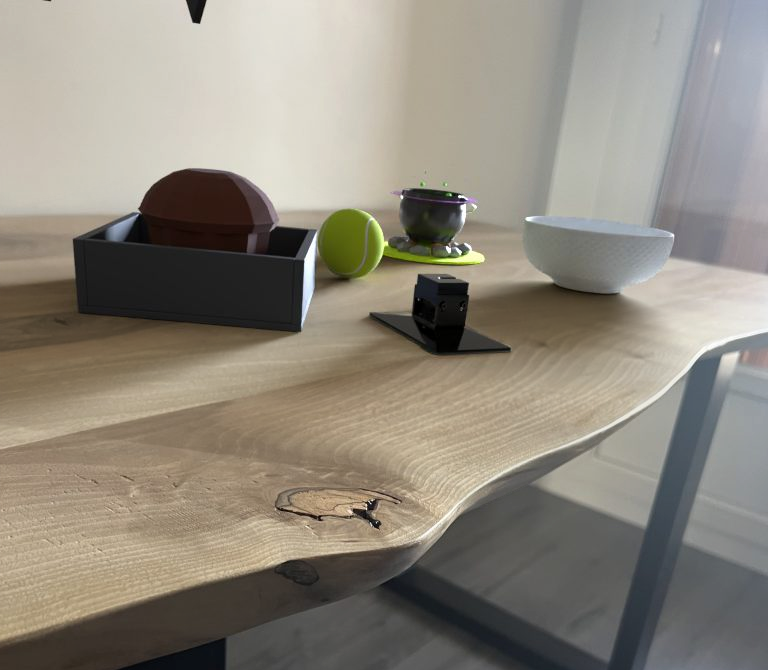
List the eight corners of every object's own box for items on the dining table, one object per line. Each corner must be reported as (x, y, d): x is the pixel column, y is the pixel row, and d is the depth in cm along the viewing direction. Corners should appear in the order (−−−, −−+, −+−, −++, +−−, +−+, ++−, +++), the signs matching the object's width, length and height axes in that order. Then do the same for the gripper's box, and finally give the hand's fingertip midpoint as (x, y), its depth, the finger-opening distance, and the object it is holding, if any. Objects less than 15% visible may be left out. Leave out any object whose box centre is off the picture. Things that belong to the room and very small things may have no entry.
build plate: (511, 353, 66) (521, 295, 64) (433, 357, 63) (441, 296, 61) (436, 314, 76) (442, 262, 74) (365, 315, 72) (369, 261, 70)
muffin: (274, 283, 78) (278, 171, 74) (280, 310, 69) (284, 183, 64) (146, 275, 76) (142, 159, 72) (133, 302, 66) (127, 170, 62)
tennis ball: (306, 278, 85) (309, 207, 82) (329, 268, 91) (333, 202, 88) (369, 287, 84) (375, 216, 81) (388, 277, 90) (394, 210, 87)
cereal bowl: (647, 282, 103) (660, 224, 100) (672, 310, 88) (689, 242, 85) (513, 267, 104) (522, 208, 101) (516, 291, 89) (527, 223, 86)
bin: (77, 312, 64) (72, 238, 62) (135, 272, 80) (132, 211, 78) (301, 332, 65) (304, 260, 63) (314, 288, 81) (317, 229, 78)
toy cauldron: (498, 256, 111) (511, 169, 107) (460, 269, 99) (473, 171, 94) (399, 239, 117) (407, 156, 112) (351, 250, 104) (358, 157, 99)
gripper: (195, -108, 88) (244, 51, 83) (-66, -168, 76) (-25, 14, 71) (212, -180, 82) (267, -13, 77) (-69, -259, 69) (-25, -66, 65)
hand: (127, 0), depth 74 cm, fingers open, 13 cm apart
